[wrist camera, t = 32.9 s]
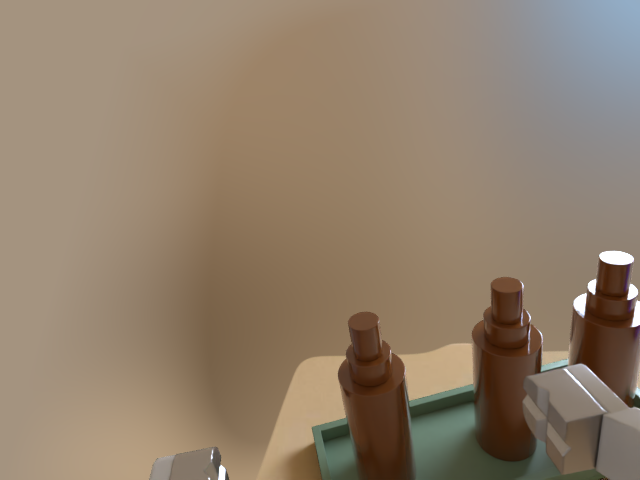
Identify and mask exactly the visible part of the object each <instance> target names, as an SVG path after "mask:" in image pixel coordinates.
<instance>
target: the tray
mask: <svg viewBox="0 0 640 480" xmlns="http://www.w3.org/2000/svg"><path fill="white" fill-rule="evenodd" d="M564 367H568V359H565V360H561V361H558V362H554V363H550V364H546V365H543V366H542V367H541V373H542V372H546V371H550V370H555V369H559V368H564ZM409 406H410V415H411V424H412V433H413V442H414V451H415V460H416V469H417V475H416V479H415V480H598V479H602V478H605V476H604V475H602V474H601V473H599V472H598V471H596V468H595V469H590V470H585V471H580V472H575V473H570V474H565V475H561V473H560V472H559V471H558V469H557V468H556V466H555V465H554V463H553V462H552V461H551V459H550V458H549V456H548V455H547V454H546V443H544V442H542V441H540V440H539V439H538V443H537V448H536V450H535V452H534V453H533V454H532V455H531V456H530V457H529V458H527V459H525V460H522V461H516V462H509V461H503V460H500V459H497V458H495V457H492V456H491V455H489V454H488V453H486V452H485V451H484V450H483V449H482V448H481V447H480V445H479V444H478V442H477V440H476V437H475V420H474V387H473V384H471V385H468V386H464V387H460V388H456V389H453V390H449V391H445V392H441V393H438V394H434V395H430V396H426V397H423V398H419V399H415V400H411V401H409ZM633 407H636V408H639V409H640V389H639V388H638V387H637V389H636V394H635V400H634V406H633ZM312 431H313V436H314V441H315V446H316V451H317V456H318V461H319V466H320V471H321V476H322V480H358V476H357V471H356V466H355V461H354V456H353V451H352V445H351V440H350V435H349V430H348V425H347V420H346V418H344V419H340V420H337V421H333V422H329V423H325V424H322V425H320V426H319V425H318V426H314V427H312Z"/></svg>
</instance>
